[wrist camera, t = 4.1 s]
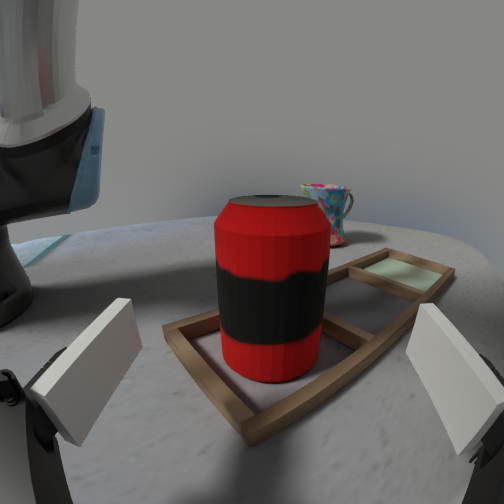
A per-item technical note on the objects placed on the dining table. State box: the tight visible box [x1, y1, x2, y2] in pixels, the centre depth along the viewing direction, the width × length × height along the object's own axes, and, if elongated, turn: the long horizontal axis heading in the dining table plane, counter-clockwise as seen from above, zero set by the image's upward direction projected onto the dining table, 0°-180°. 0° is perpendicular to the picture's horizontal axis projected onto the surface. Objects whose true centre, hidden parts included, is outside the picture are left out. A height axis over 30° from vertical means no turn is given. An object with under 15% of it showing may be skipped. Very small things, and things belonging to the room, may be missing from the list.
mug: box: [301, 184, 353, 246], centre depth 50 cm, size 12×9×11 cm
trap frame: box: [162, 248, 455, 447], centre depth 28 cm, size 13×37×2 cm, turn 126°
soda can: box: [214, 195, 331, 383], centre depth 19 cm, size 8×8×12 cm
